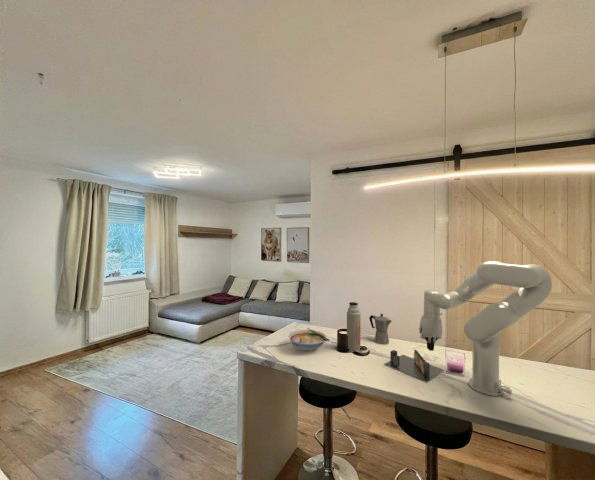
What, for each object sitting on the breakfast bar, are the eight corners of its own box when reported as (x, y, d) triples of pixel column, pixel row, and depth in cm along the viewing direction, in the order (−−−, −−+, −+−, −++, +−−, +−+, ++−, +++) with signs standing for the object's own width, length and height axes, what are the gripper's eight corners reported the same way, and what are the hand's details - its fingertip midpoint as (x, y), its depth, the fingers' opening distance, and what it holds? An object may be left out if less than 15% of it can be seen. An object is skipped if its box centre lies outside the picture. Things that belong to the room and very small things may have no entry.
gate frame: (444, 370, 130) (443, 356, 130) (427, 382, 119) (427, 367, 119) (402, 355, 147) (402, 343, 147) (384, 364, 136) (384, 351, 136)
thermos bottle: (363, 350, 153) (363, 303, 153) (353, 354, 149) (353, 305, 149) (353, 346, 160) (353, 300, 160) (343, 349, 155) (344, 302, 155)
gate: (427, 374, 124) (427, 361, 124) (423, 374, 124) (423, 361, 124) (417, 361, 138) (417, 349, 138) (414, 360, 138) (414, 349, 138)
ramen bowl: (281, 344, 163) (282, 330, 163) (313, 338, 173) (313, 325, 173) (298, 360, 140) (298, 345, 140) (334, 352, 150) (334, 338, 150)
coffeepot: (394, 342, 165) (394, 314, 165) (387, 346, 159) (387, 317, 159) (373, 336, 176) (373, 309, 176) (365, 339, 170) (365, 312, 170)
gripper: (441, 312, 138) (440, 346, 138) (413, 312, 137) (412, 346, 138) (450, 317, 131) (448, 353, 131) (421, 316, 130) (419, 353, 130)
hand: (430, 349), depth 134 cm, fingers closed
